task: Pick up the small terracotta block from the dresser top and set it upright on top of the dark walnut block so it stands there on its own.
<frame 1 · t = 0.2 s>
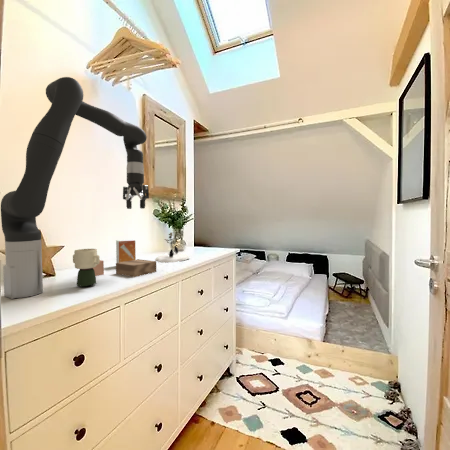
hand: (135, 208, 120), 28 cm above the table, fingers open, 8 cm apart
small box: (126, 266, 132), on the table
figurine: (172, 260, 151), on the table
character mug: (86, 286, 94), on the table
terracotta block: (94, 275, 112), on the table
walnut block: (136, 273, 115), on the table
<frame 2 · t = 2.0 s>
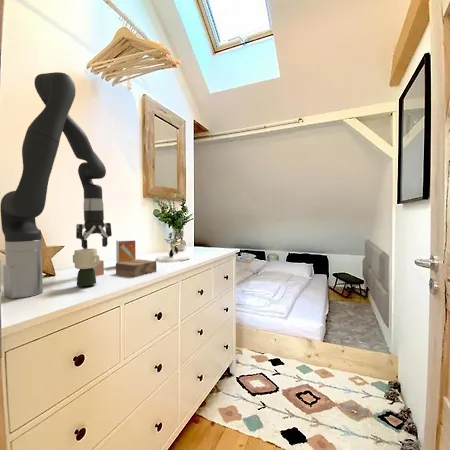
hand: (95, 247, 112), 12 cm above the table, fingers open, 8 cm apart
nothing on the table moved.
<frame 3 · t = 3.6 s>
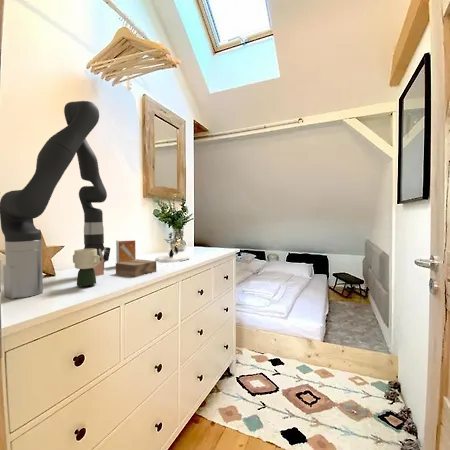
hand: (94, 272, 112), 1 cm above the table, fingers closed on terracotta block, 5 cm apart
terracotta block: (94, 274, 112), on the table, touching gripper
everything else where it was.
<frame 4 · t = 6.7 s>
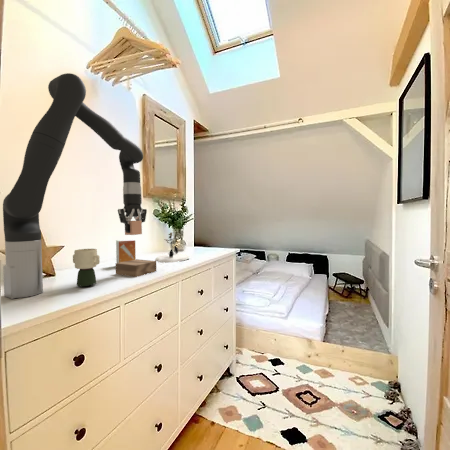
hand: (133, 232, 115), 18 cm above the table, fingers closed on terracotta block, 5 cm apart
terracotta block: (133, 234, 115), point 17 cm above the table, touching gripper
everything else where it was.
when the fingers open (7 cm above the table, at t = 9.6 s): terracotta block drops 2 cm, point 5 cm above the table.
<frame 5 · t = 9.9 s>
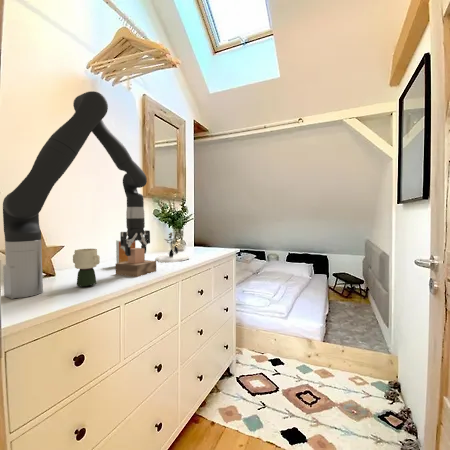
hand: (136, 254, 115), 8 cm above the table, fingers open, 7 cm apart
terracotta block: (136, 262, 115), point 5 cm above the table
everything else where it was.
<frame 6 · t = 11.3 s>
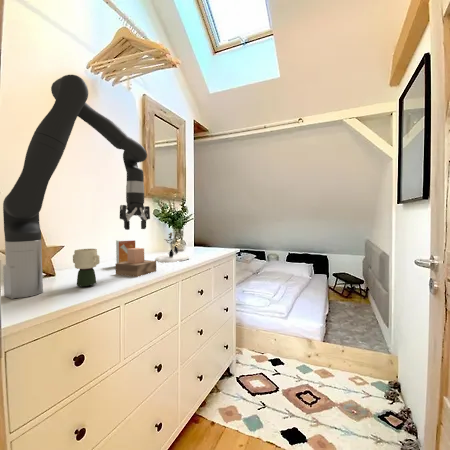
hand: (135, 229, 115), 19 cm above the table, fingers open, 8 cm apart
terracotta block: (136, 262, 115), point 5 cm above the table, touching walnut block
walnut block: (136, 273, 115), on the table, touching terracotta block
everything else where it was.
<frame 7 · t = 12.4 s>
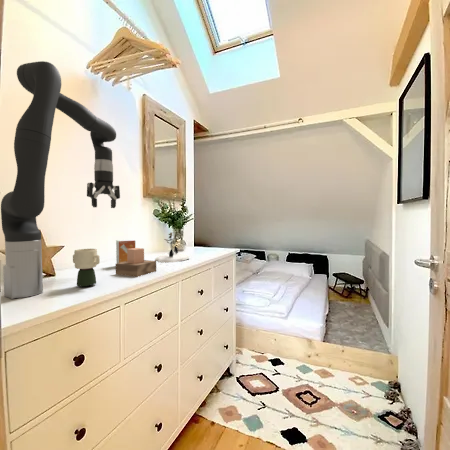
hand: (104, 207, 117), 29 cm above the table, fingers open, 8 cm apart
terracotta block: (135, 262, 115), point 5 cm above the table
walnut block: (136, 273, 115), on the table
everything else where it was.
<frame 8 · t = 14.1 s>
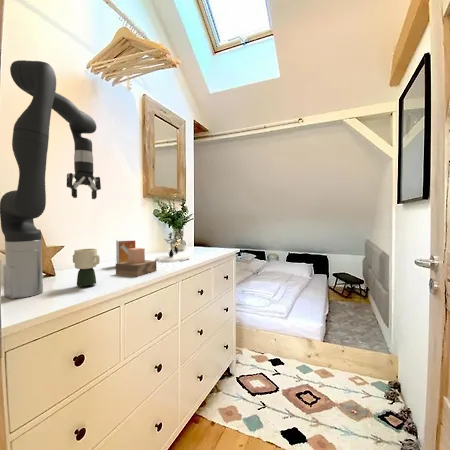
hand: (84, 198, 118), 33 cm above the table, fingers open, 8 cm apart
terracotta block: (136, 262, 115), point 5 cm above the table, touching walnut block
walnut block: (136, 273, 115), on the table, touching terracotta block
everything else where it was.
at the end: terracotta block inside the target area on the walnut block (0.1 cm from its centre), point 5.0 cm above the walnut block's base; terracotta block tilted 0°; the gripper is holding nothing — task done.
